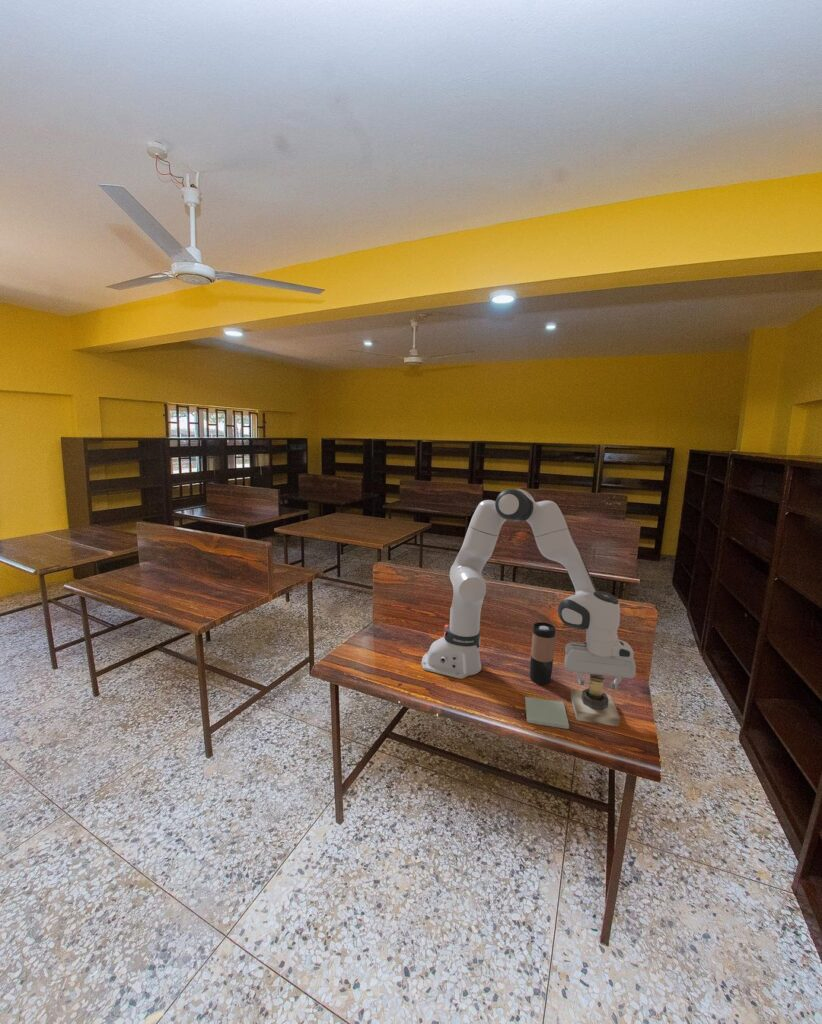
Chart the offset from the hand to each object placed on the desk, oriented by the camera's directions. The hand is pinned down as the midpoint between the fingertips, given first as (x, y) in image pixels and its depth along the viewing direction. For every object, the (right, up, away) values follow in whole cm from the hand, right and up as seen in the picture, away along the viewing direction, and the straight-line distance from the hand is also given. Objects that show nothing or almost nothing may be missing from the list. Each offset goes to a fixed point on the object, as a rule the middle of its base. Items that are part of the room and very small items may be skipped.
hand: (597, 686), depth 131 cm
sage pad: (-16, -8, -1) cm, 18 cm away
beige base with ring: (-1, -9, +1) cm, 9 cm away
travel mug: (-12, -6, +19) cm, 23 cm away
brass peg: (-1, -6, +1) cm, 6 cm away
